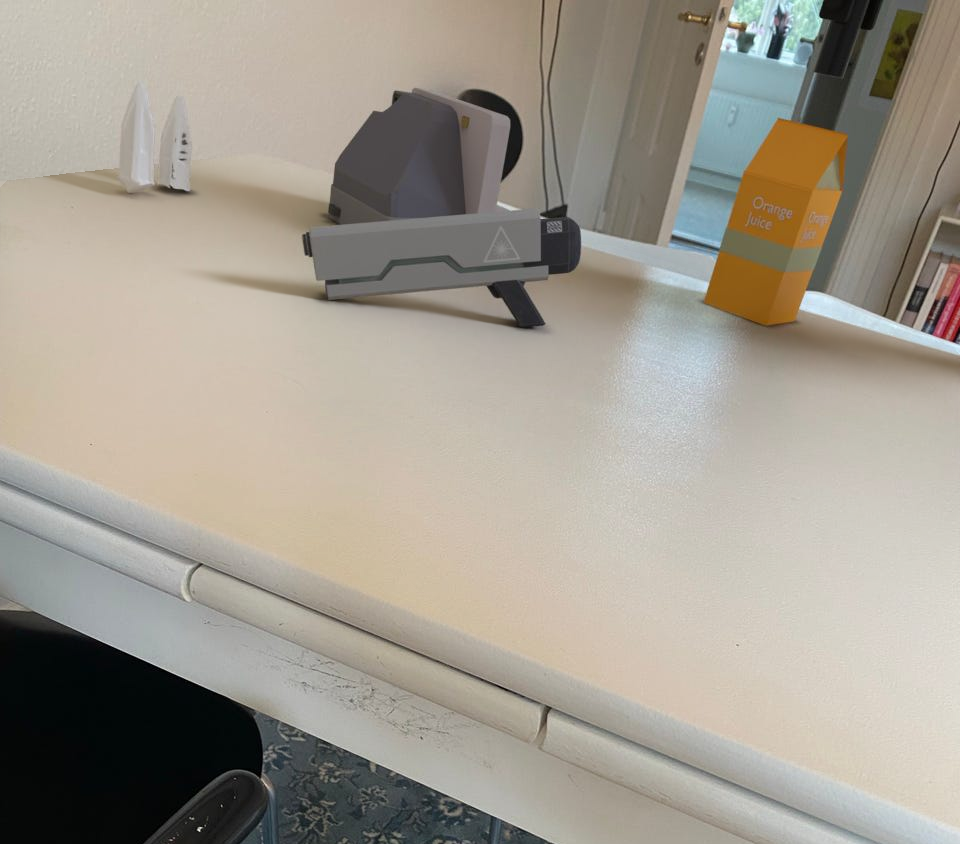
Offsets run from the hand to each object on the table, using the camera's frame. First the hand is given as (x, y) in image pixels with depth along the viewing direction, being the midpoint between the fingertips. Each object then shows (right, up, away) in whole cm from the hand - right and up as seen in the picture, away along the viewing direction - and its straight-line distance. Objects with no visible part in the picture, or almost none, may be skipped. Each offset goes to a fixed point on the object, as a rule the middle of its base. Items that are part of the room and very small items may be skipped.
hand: (846, 22), depth 93 cm
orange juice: (-5, -24, +17) cm, 30 cm away
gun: (-42, -33, -8) cm, 54 cm away
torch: (-1, -4, +3) cm, 5 cm away
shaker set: (-76, -12, +13) cm, 78 cm away
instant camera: (-45, -15, +18) cm, 51 cm away
